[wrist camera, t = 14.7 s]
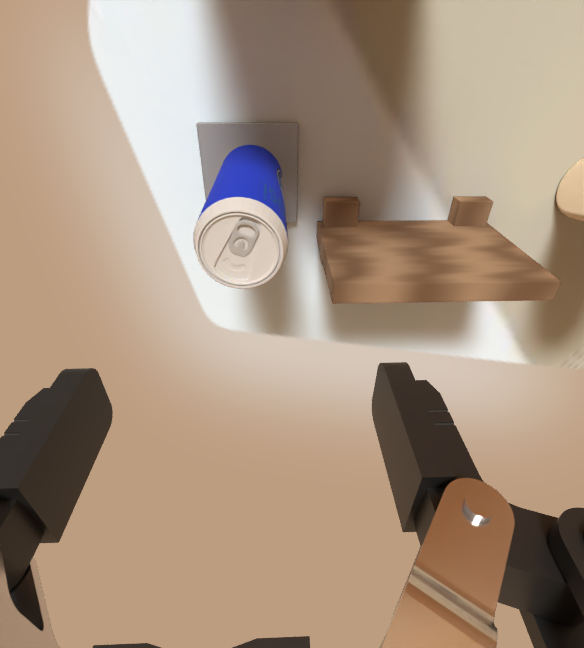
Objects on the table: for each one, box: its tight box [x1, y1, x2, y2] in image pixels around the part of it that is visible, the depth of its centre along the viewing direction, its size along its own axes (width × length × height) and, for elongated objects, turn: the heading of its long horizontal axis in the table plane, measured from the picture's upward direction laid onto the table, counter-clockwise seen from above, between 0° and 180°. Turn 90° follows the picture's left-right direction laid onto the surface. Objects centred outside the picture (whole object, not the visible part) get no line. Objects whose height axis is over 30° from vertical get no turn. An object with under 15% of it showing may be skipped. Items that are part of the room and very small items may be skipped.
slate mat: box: [197, 123, 298, 222], centre depth 32 cm, size 8×8×1 cm
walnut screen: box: [316, 197, 561, 304], centre depth 31 cm, size 16×6×12 cm, turn 90°
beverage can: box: [193, 145, 288, 289], centre depth 26 cm, size 5×5×15 cm
